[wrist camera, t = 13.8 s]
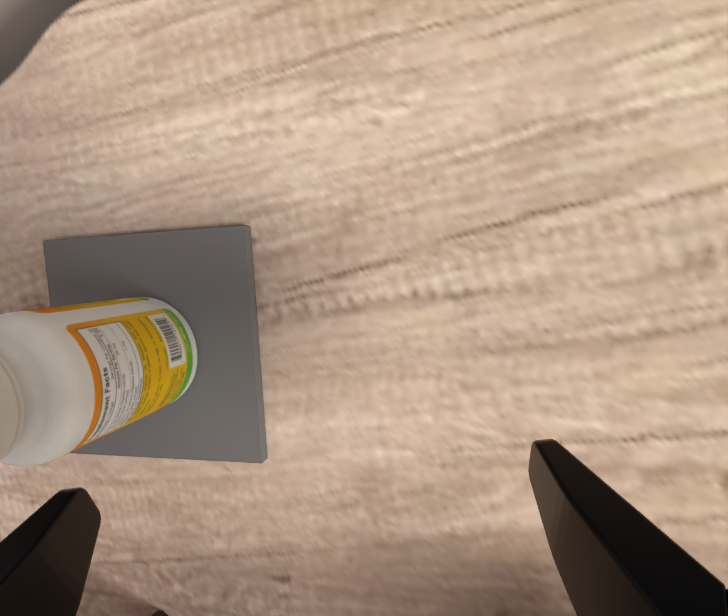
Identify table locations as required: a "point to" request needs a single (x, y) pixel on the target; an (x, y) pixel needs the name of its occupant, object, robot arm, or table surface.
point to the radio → (160, 613)
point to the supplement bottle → (87, 373)
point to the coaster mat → (207, 321)
